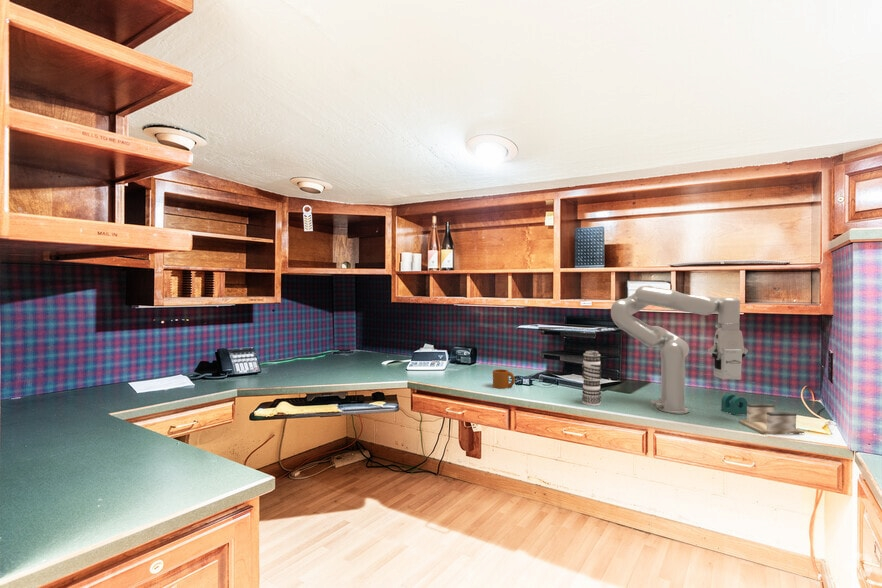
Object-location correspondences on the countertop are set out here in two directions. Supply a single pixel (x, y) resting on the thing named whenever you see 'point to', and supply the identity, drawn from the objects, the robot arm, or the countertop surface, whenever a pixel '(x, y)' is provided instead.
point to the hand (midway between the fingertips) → (727, 368)
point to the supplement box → (730, 364)
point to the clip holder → (770, 420)
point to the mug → (502, 379)
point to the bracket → (734, 404)
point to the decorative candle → (591, 378)
